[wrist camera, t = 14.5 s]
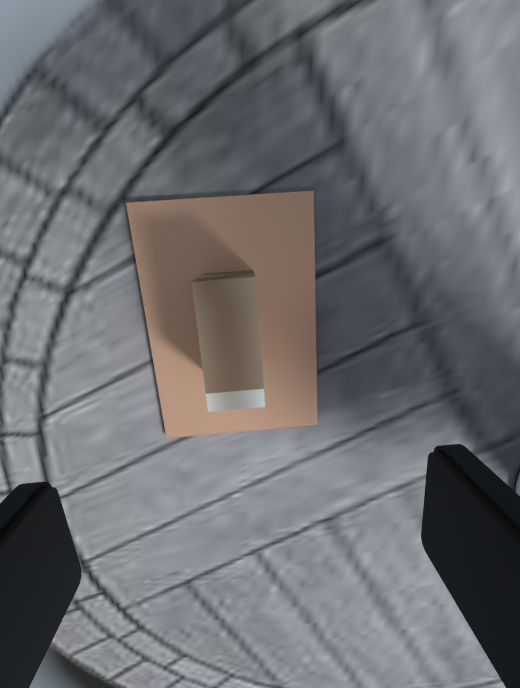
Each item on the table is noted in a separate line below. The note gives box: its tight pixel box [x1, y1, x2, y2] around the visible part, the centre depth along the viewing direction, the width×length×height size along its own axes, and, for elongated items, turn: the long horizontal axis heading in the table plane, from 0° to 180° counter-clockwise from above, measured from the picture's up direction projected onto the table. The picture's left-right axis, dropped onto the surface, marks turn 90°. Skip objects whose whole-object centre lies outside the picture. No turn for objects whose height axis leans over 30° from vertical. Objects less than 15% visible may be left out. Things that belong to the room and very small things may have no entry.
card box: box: [191, 270, 265, 412], centre depth 24 cm, size 4×9×6 cm, turn 4°
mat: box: [126, 191, 318, 438], centre depth 28 cm, size 20×14×1 cm
